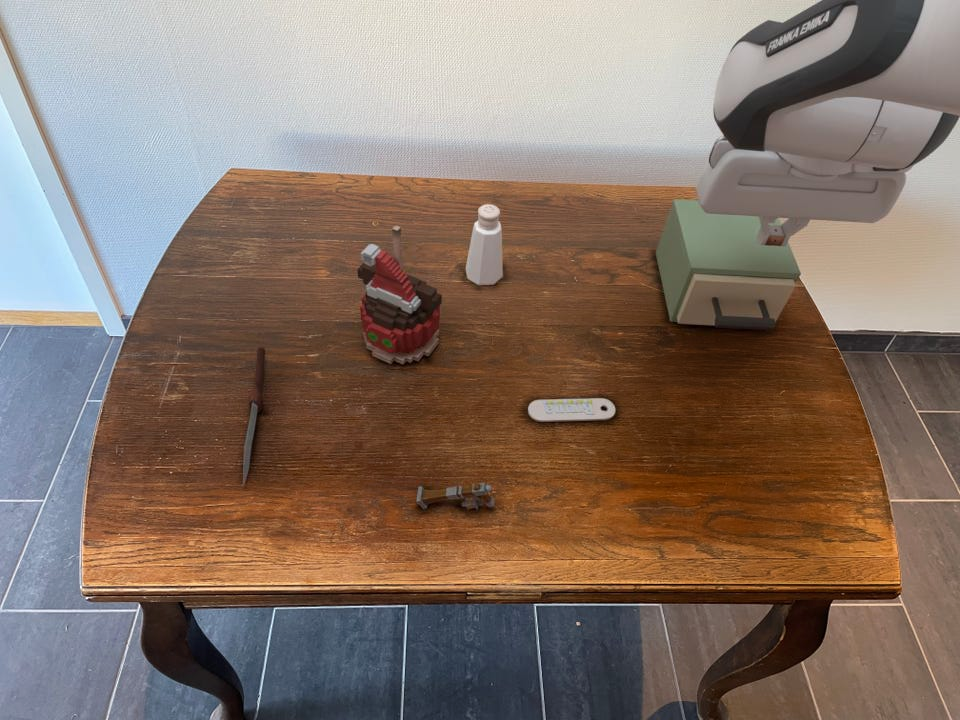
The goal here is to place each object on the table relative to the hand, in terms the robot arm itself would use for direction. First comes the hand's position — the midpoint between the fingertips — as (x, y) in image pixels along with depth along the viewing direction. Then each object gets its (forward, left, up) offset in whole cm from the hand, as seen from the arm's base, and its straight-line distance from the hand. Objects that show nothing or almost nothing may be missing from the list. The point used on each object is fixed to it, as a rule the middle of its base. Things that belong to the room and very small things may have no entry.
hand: (769, 242), depth 79 cm
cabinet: (+9, +1, -16) cm, 19 cm away
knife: (-22, +56, -16) cm, 62 cm away
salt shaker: (+7, +33, -16) cm, 37 cm away
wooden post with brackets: (-29, +32, -16) cm, 46 cm away
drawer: (+5, 0, -15) cm, 16 cm away
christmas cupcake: (-7, +42, -16) cm, 46 cm away
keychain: (-15, +20, -16) cm, 30 cm away
